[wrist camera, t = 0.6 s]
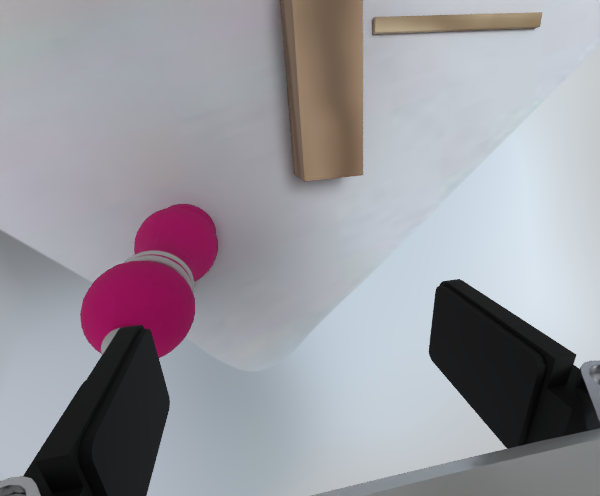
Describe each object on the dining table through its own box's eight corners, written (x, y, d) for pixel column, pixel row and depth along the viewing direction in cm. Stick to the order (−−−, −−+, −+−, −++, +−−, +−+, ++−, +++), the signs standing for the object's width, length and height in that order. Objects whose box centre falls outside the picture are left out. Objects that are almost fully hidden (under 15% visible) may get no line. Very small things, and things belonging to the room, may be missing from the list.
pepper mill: (212, 269, 35) (180, 421, 16) (144, 255, 33) (20, 409, 14) (227, 209, 33) (210, 305, 14) (156, 190, 31) (30, 273, 12)
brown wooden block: (293, 173, 33) (304, 181, 27) (279, -10, 27) (288, -47, 22) (342, 168, 34) (362, 175, 28) (338, -11, 28) (362, -47, 22)
